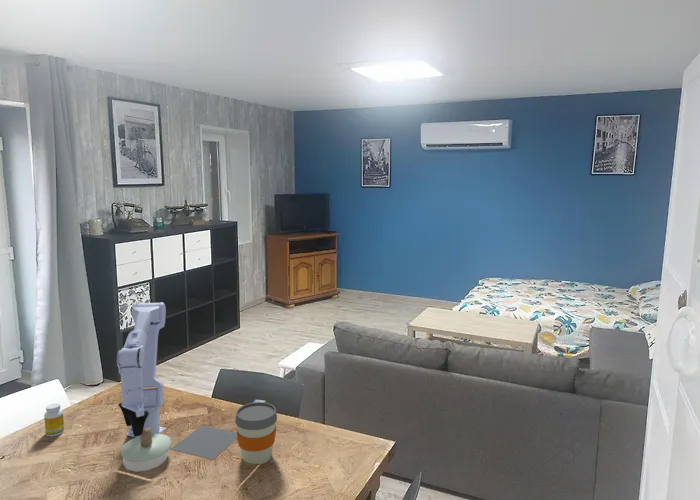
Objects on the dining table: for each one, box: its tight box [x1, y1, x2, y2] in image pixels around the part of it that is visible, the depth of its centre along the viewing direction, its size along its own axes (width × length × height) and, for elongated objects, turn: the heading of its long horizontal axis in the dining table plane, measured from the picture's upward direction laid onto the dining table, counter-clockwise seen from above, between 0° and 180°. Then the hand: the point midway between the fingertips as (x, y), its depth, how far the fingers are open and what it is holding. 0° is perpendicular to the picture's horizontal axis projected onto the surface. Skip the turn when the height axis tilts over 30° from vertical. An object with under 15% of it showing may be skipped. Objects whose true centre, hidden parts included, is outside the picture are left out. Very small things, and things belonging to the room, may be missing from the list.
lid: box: [120, 427, 172, 462], centre depth 142 cm, size 14×14×6 cm
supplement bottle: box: [43, 402, 65, 437], centre depth 157 cm, size 5×5×10 cm
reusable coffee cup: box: [234, 401, 278, 466], centre depth 145 cm, size 13×13×15 cm
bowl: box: [122, 450, 169, 472], centre depth 142 cm, size 12×12×4 cm
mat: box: [170, 424, 238, 461], centre depth 153 cm, size 16×16×1 cm
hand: (134, 430), depth 141 cm, fingers open, 7 cm apart
